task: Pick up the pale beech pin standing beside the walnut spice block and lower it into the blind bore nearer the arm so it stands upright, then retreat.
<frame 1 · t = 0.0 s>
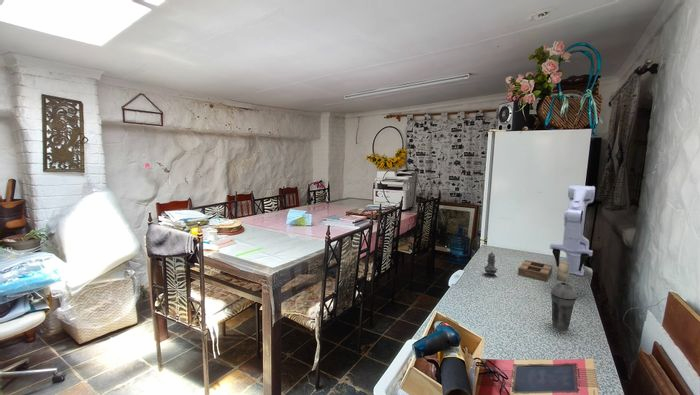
hand: (568, 268, 130), 10 cm above the countertop, tool pointing down, fingers open, 7 cm apart
beverage cup: (560, 327, 104), on the countertop
grey chess piece: (490, 275, 148), on the countertop
spice block: (535, 273, 150), on the countertop
beech pin: (562, 279, 143), on the countertop
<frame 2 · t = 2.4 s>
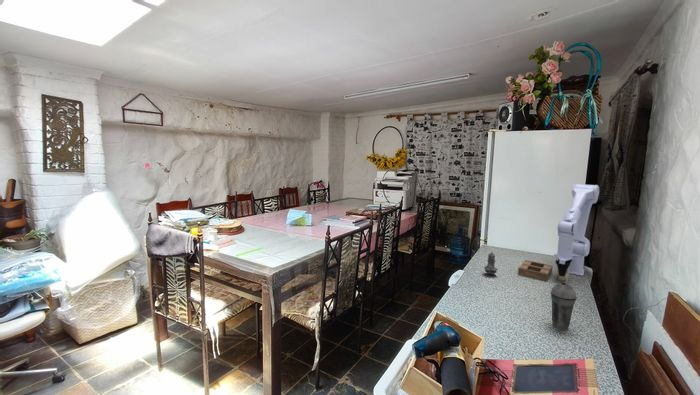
hand: (562, 274, 142), 2 cm above the countertop, tool pointing down, fingers closed on beech pin, 4 cm apart
beech pin: (562, 279, 143), on the countertop, touching gripper
everything else where it was.
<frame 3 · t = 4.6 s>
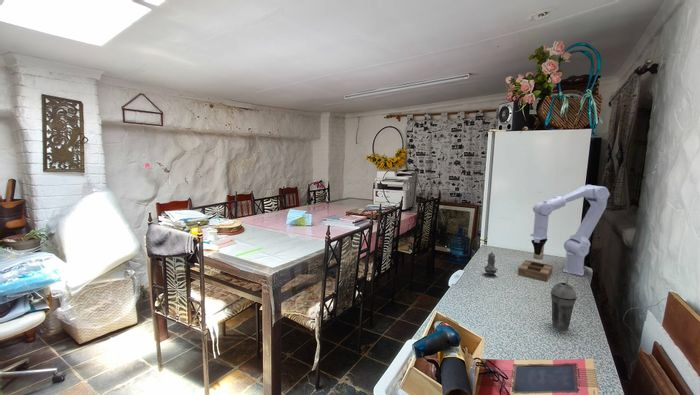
hand: (538, 253, 151), 9 cm above the countertop, tool pointing down, fingers closed on beech pin, 4 cm apart
beech pin: (538, 258, 152), point 7 cm above the countertop, touching gripper
everything else where it was.
when the fingers open (5 cm above the countertop, at t = 6.8 s): beech pin stays where it is, resting on spice block.
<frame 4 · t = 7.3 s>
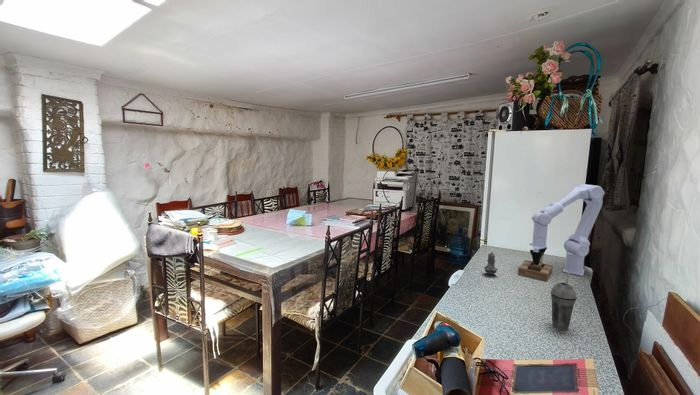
hand: (537, 262, 152), 5 cm above the countertop, tool pointing down, fingers open, 7 cm apart
beech pin: (537, 269, 152), point 1 cm above the countertop, touching spice block
everything else where it was.
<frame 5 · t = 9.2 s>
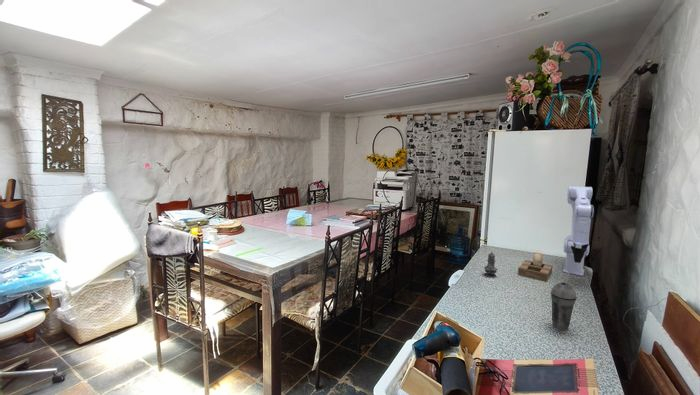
hand: (578, 260, 138), 10 cm above the countertop, tool pointing down, fingers open, 7 cm apart
nothing on the countertop moved.
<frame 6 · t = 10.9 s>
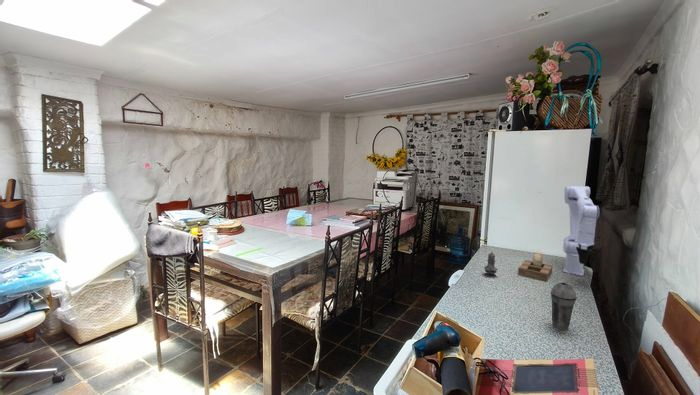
hand: (583, 261, 137), 10 cm above the countertop, tool pointing down, fingers open, 7 cm apart
nothing on the countertop moved.
at the end: beech pin 0.1 cm from the target spot on the spice block, point 1.2 cm above the spice block's base; beech pin tilted 1°; the gripper is holding nothing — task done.
